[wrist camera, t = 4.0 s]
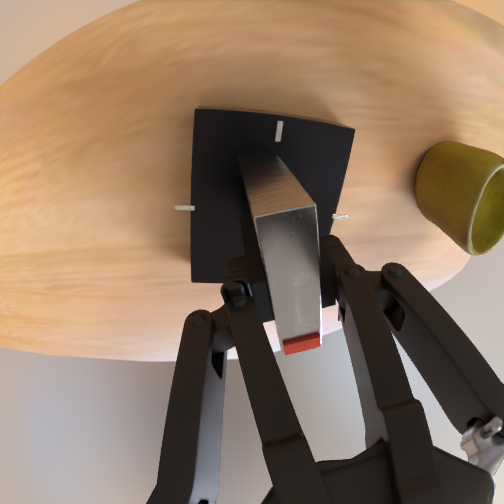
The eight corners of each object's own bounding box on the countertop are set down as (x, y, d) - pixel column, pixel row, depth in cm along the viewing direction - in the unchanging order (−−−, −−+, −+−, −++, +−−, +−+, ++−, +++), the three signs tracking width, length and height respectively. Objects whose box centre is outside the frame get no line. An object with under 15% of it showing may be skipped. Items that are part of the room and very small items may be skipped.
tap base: (182, 105, 17) (177, 108, 15) (353, 126, 19) (369, 133, 17) (181, 264, 25) (178, 283, 23) (317, 268, 27) (326, 285, 25)
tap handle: (237, 156, 17) (253, 220, 10) (273, 148, 17) (318, 206, 10) (261, 262, 23) (282, 357, 15) (289, 256, 22) (323, 348, 15)
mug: (398, 242, 24) (483, 274, 15) (399, 135, 21) (491, 133, 12) (456, 231, 27) (520, 252, 18) (459, 150, 24) (526, 156, 15)
